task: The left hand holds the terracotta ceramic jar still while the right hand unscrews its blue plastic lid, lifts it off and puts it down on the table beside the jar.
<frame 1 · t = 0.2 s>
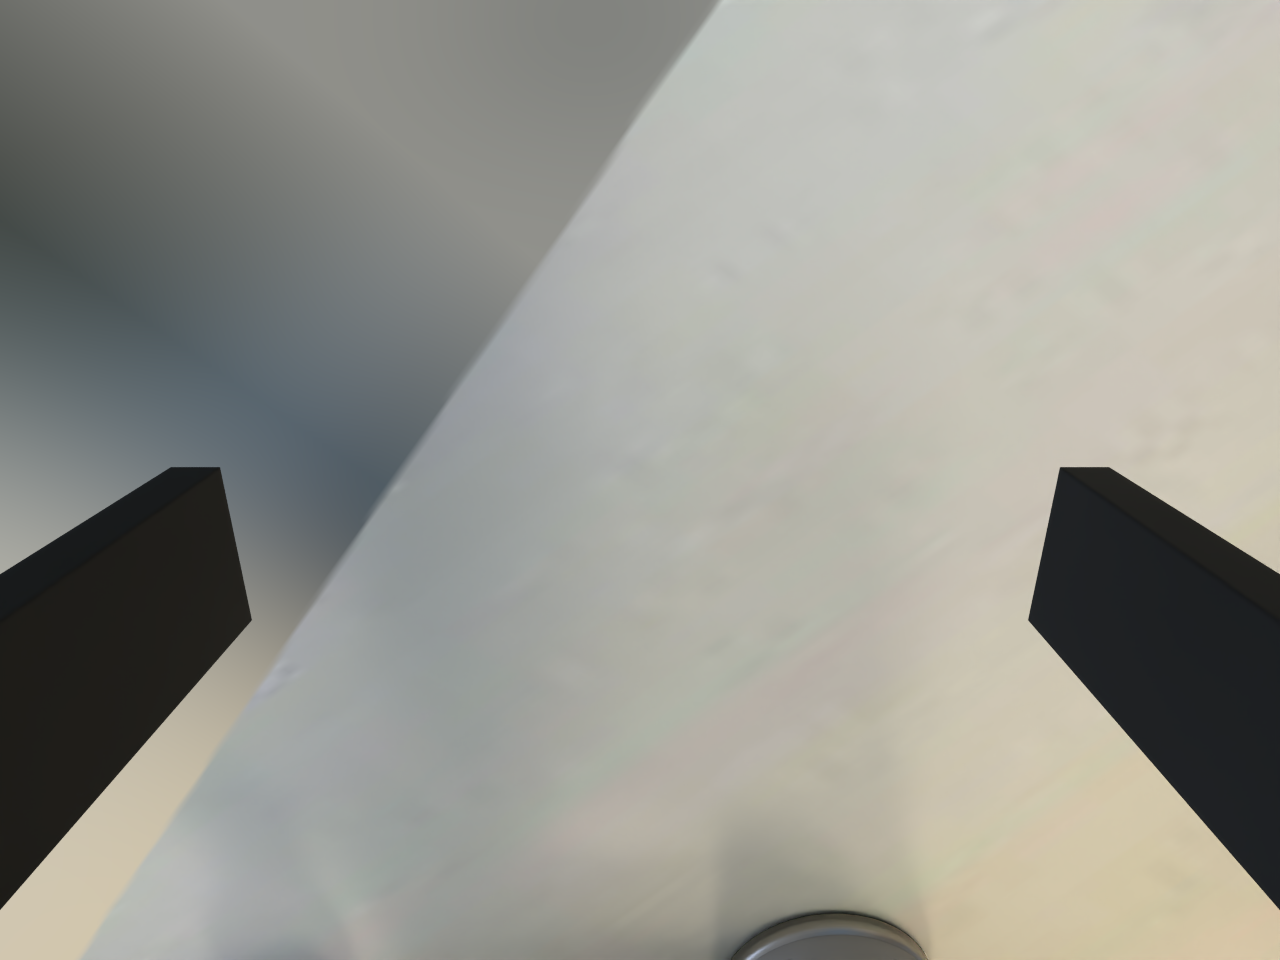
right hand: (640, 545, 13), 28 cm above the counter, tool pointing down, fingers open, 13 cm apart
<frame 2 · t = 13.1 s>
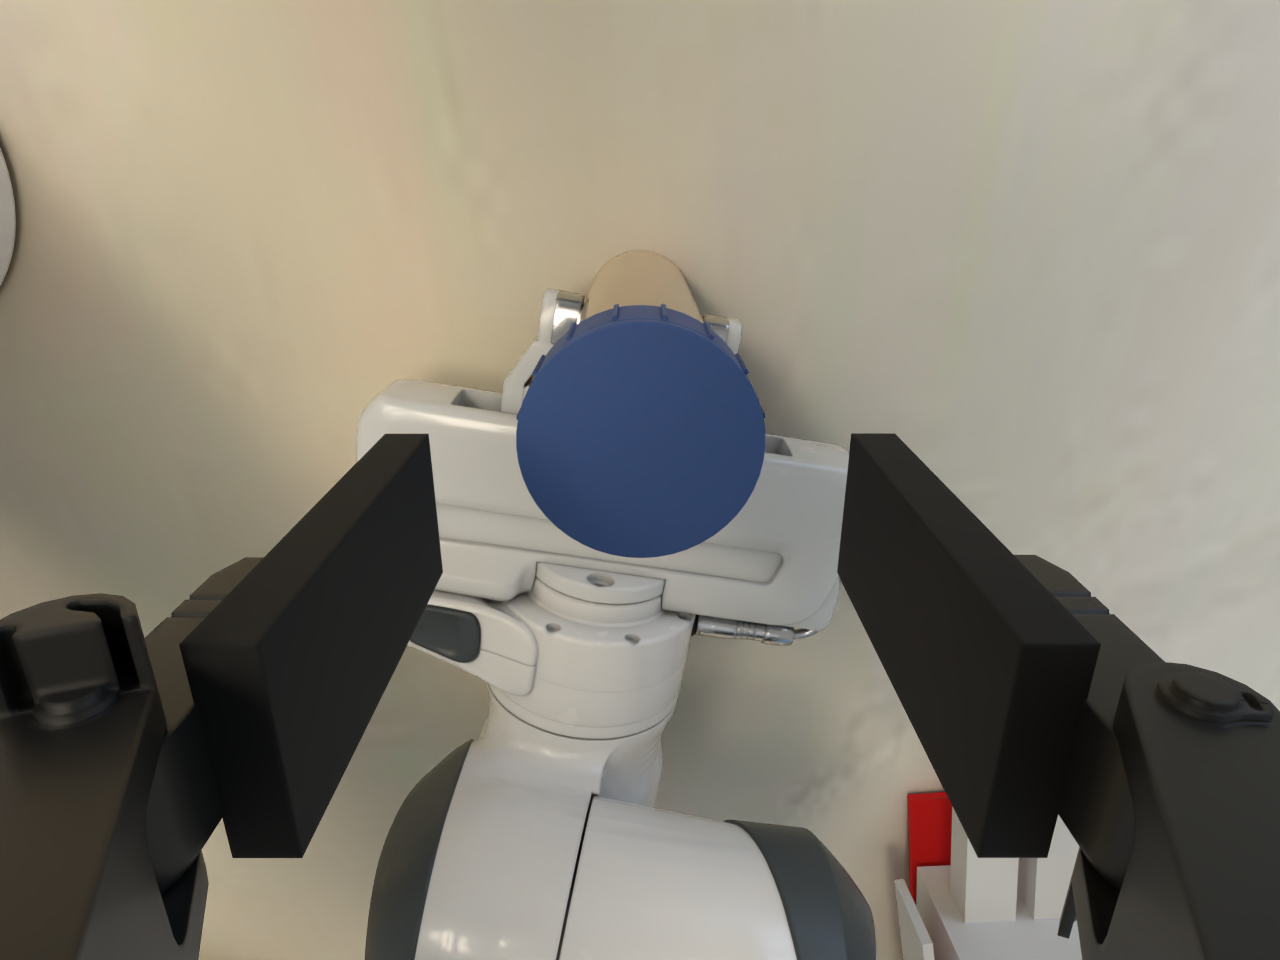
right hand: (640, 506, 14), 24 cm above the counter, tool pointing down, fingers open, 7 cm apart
left hand: (642, 305, 30), fingers closed on jar, 4 cm apart
lid: (640, 441, 17), point 20 cm above the counter, screwed on, not yet turned
toy: (964, 922, 50), on the counter
jar: (639, 302, 36), on the counter, touching left hand
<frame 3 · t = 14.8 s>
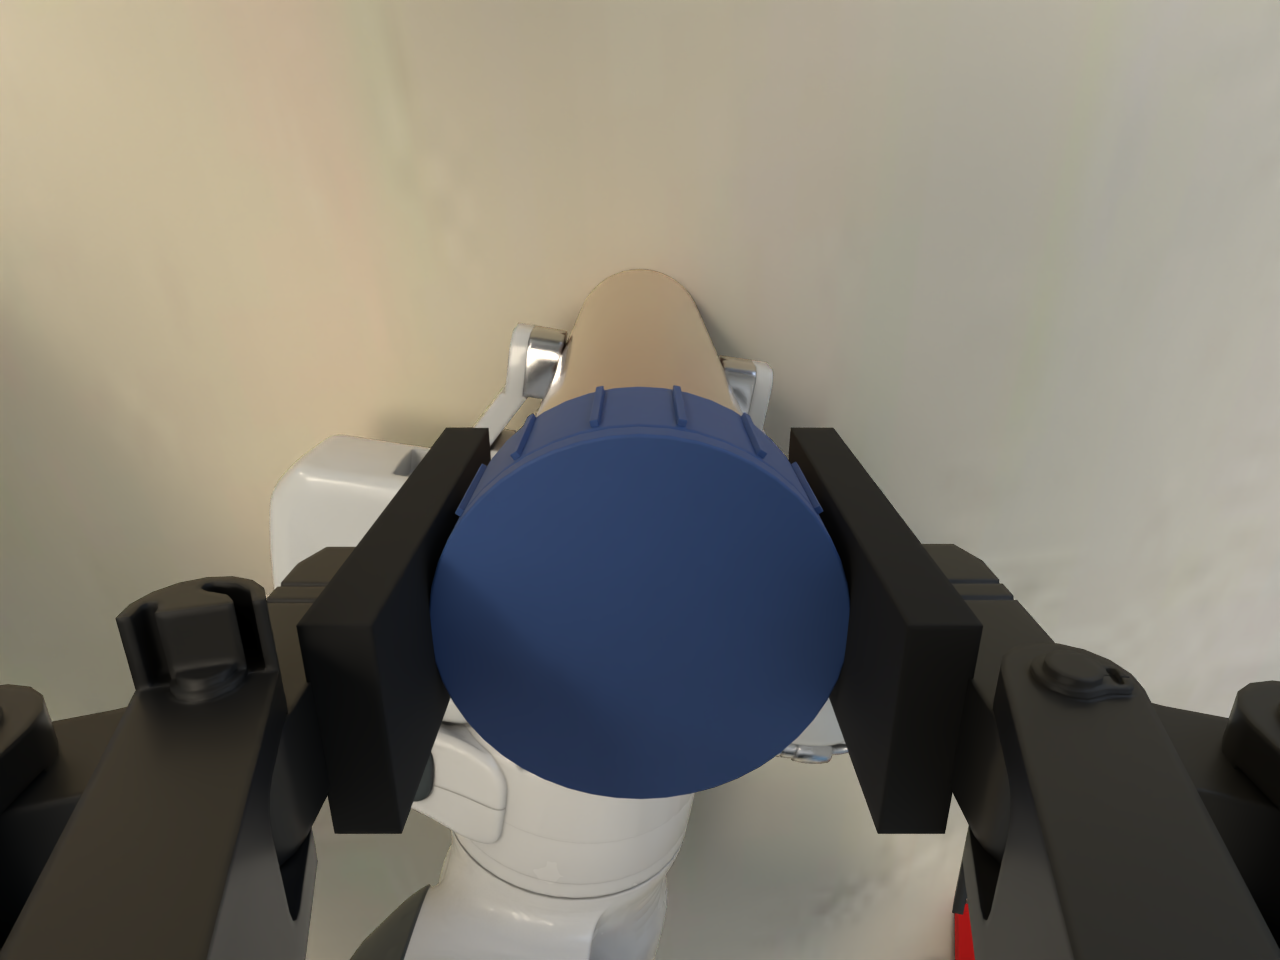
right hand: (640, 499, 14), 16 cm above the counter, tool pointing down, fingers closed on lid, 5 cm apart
lid: (639, 621, 10), point 20 cm above the counter, screwed on, not yet turned, touching right hand
jar: (639, 333, 29), on the counter, touching left hand
when the right hand's fingers open (0 cm above the counter, at t = 25.4 s): lid drops 2 cm, point 2 cm above the counter.
when the left hand's fingers open (7 cm above the counter, at t = 26.0 s): jar stays where it is, on the counter.
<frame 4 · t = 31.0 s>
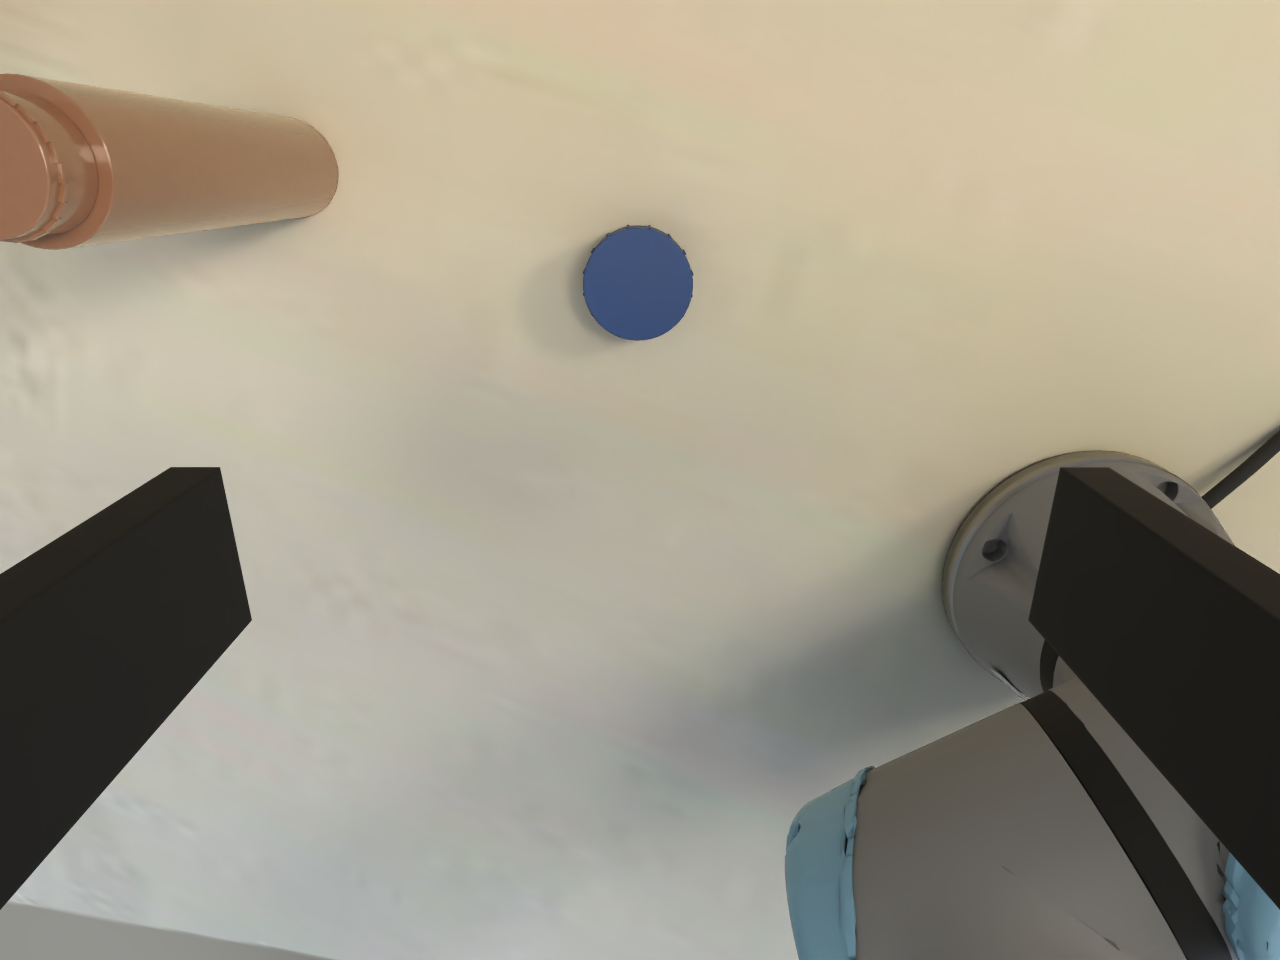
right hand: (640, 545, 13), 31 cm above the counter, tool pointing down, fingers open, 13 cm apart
lid: (638, 284, 39), point 2 cm above the counter, off its thread
jar: (291, 168, 39), on the counter
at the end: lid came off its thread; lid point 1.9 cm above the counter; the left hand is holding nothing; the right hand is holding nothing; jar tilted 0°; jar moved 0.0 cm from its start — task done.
